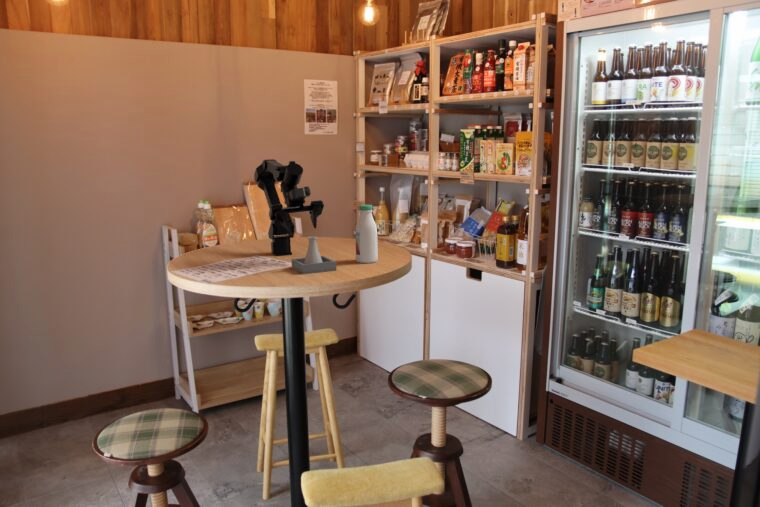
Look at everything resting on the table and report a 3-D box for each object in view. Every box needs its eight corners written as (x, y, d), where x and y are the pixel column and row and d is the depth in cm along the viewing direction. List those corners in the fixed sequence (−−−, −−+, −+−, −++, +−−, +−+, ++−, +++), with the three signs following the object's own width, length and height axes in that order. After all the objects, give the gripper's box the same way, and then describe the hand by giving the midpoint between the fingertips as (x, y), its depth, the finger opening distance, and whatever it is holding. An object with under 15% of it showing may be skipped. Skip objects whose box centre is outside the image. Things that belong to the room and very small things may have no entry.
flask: (299, 266, 206) (298, 236, 204) (319, 263, 210) (318, 234, 208) (307, 269, 200) (306, 239, 198) (327, 267, 203) (326, 237, 202)
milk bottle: (380, 259, 219) (379, 204, 215) (373, 264, 212) (372, 206, 208) (360, 258, 221) (359, 203, 218) (352, 262, 214) (351, 206, 210)
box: (323, 264, 212) (323, 255, 212) (336, 270, 202) (336, 261, 202) (291, 267, 207) (291, 259, 207) (302, 274, 197) (302, 264, 197)
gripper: (268, 181, 206) (279, 218, 199) (320, 177, 214) (333, 212, 207) (264, 202, 215) (275, 237, 208) (314, 197, 223) (326, 231, 215)
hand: (302, 229), depth 209 cm, fingers open, 9 cm apart
